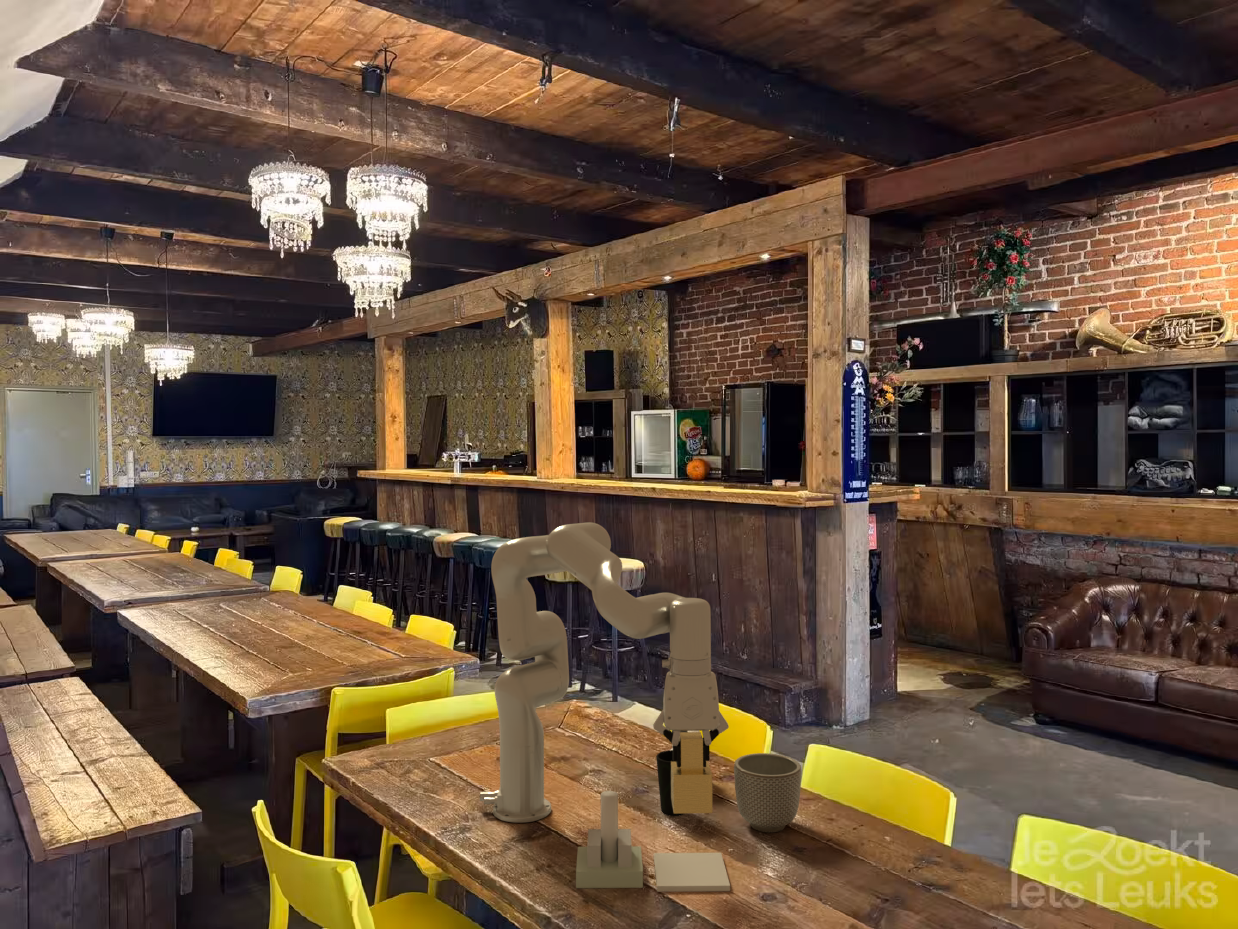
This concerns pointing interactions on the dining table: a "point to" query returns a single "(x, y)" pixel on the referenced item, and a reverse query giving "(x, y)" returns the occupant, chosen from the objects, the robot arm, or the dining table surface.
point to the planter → (767, 790)
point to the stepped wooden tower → (691, 777)
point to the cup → (665, 781)
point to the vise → (609, 853)
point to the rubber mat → (690, 872)
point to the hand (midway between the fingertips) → (691, 763)
